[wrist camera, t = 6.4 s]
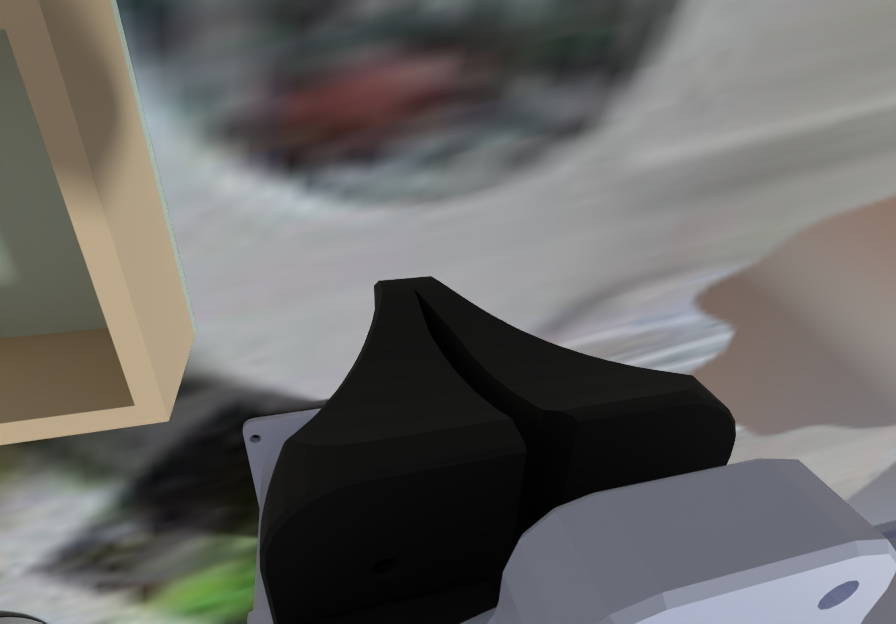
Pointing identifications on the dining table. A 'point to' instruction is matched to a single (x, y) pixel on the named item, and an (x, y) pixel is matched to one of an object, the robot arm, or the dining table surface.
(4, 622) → the supplement bottle
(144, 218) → the box
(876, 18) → the dining table surface
